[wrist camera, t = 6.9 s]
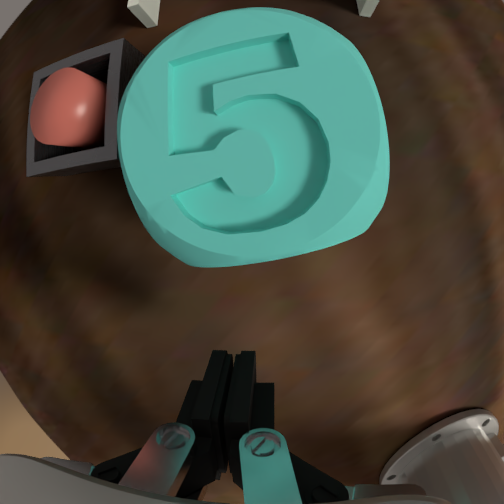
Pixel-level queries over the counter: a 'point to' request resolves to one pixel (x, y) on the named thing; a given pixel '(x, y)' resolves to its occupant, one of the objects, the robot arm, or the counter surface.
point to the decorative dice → (253, 139)
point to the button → (70, 110)
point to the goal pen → (147, 5)
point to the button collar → (117, 78)
